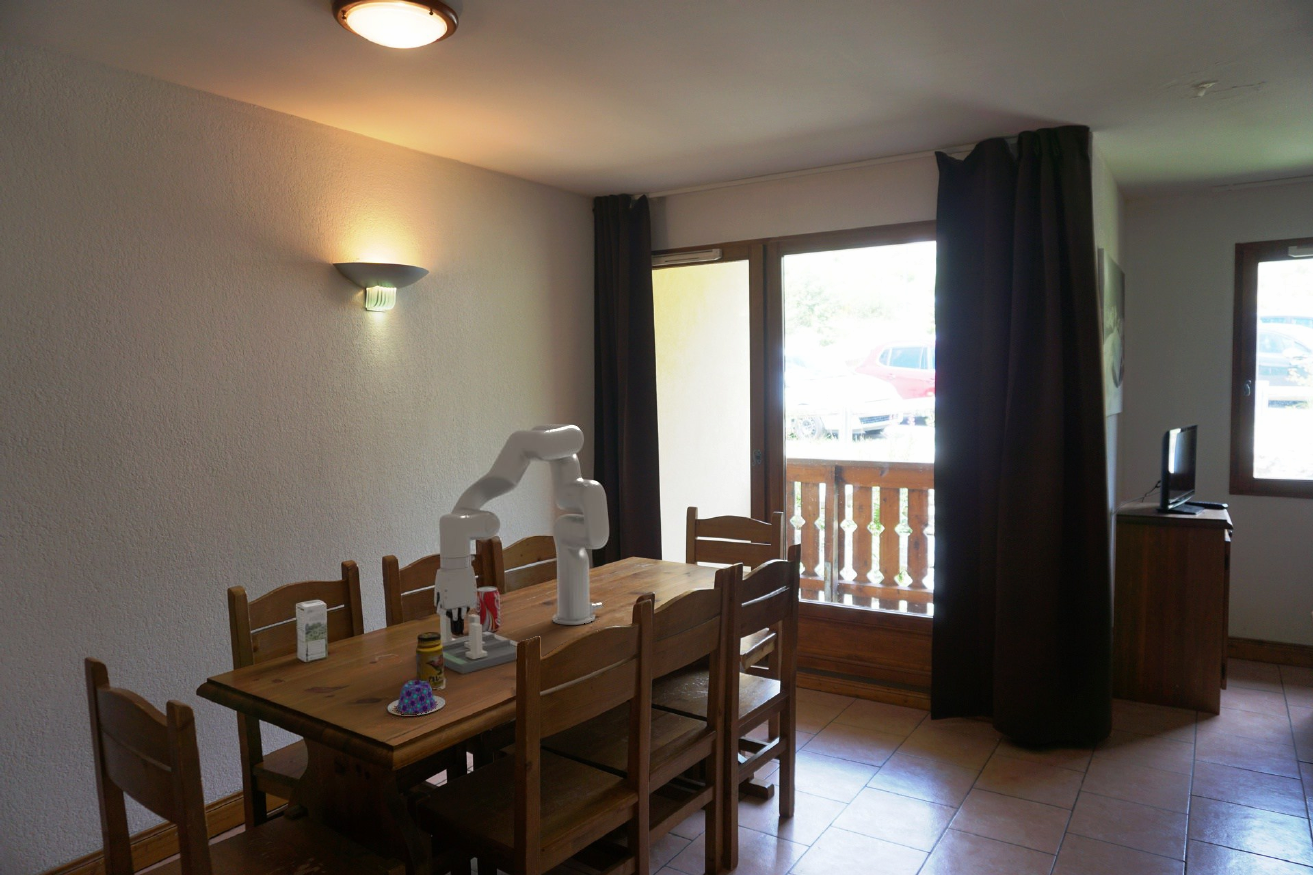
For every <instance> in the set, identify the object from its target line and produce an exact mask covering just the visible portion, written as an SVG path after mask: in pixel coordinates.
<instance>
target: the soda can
mask: <svg viewBox="0 0 1313 875" xmlns="http://www.w3.org/2000/svg"><path fill="white" fill-rule="evenodd" d="M500 596H501V595H500V592H499V591H498V587H496V586H482V587H478V588H477V601H476V608H474V614H475V615H478V616H480V624H481V625H482V632H487V631H488V632H491V633H494V632H496V631H497V630H498V629H500V628H501V600H500Z"/></svg>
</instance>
